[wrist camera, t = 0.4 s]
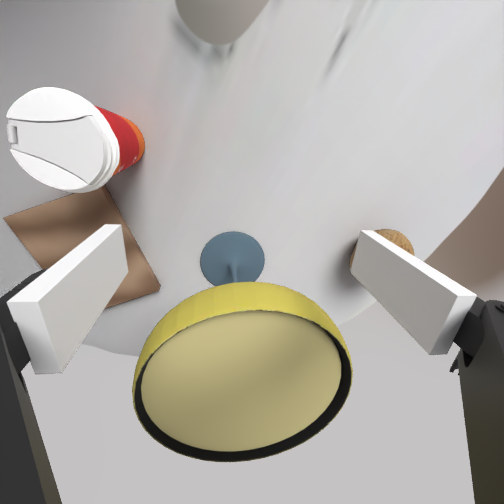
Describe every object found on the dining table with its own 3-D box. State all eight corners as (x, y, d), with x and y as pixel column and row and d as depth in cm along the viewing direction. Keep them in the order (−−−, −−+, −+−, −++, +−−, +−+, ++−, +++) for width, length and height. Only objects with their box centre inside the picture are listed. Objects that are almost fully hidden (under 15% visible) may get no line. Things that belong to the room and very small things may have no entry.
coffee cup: (88, 166, 35) (3, 184, 21) (87, 98, 32) (-13, 68, 18) (152, 179, 36) (112, 205, 23) (157, 116, 33) (114, 102, 20)
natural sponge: (399, 227, 44) (446, 250, 35) (375, 271, 47) (412, 302, 38) (354, 213, 42) (392, 234, 33) (332, 260, 45) (360, 291, 36)
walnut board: (11, 215, 36) (2, 218, 35) (103, 183, 36) (98, 185, 34) (84, 311, 44) (79, 316, 42) (160, 285, 43) (158, 290, 42)
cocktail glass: (301, 228, 42) (397, 334, 19) (263, 314, 48) (302, 469, 26) (193, 193, 38) (155, 277, 15) (167, 293, 44) (111, 457, 21)
